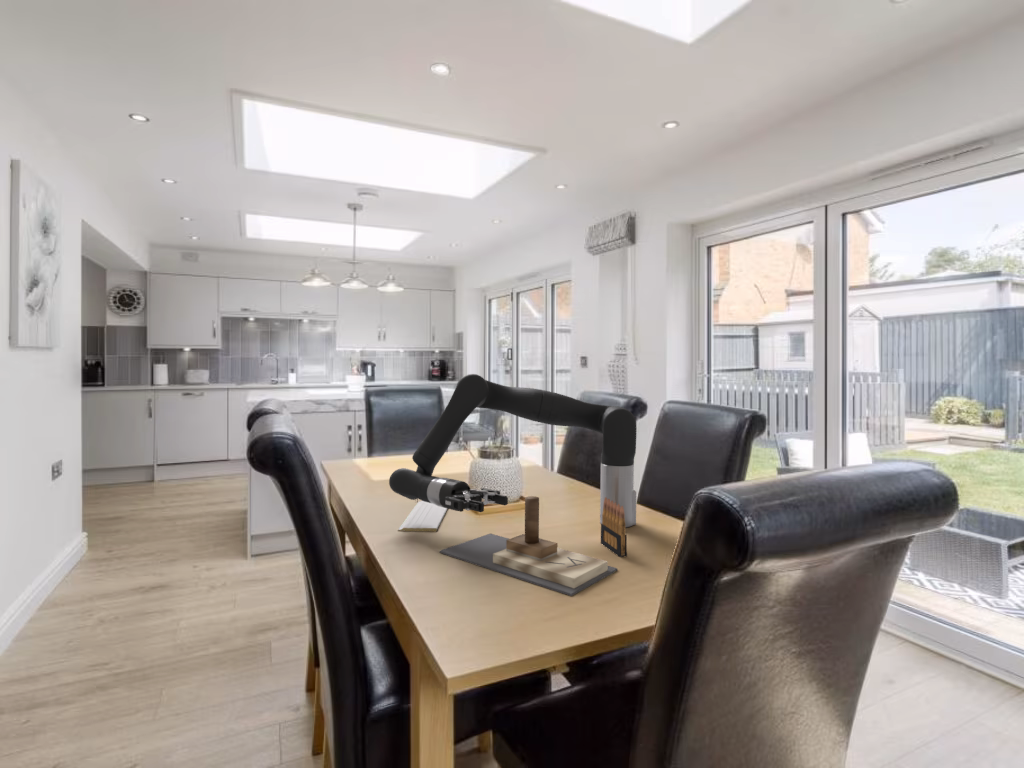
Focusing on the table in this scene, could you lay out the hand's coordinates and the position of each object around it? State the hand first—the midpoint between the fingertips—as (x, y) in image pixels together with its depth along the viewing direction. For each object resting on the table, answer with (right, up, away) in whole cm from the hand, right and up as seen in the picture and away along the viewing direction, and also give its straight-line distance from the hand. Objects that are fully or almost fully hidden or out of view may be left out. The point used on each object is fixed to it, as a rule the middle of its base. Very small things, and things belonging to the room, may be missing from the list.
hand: (495, 504), depth 134 cm
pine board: (+12, -12, -10) cm, 20 cm away
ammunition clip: (+29, -12, +3) cm, 31 cm away
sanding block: (+8, -10, -7) cm, 14 cm away
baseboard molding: (-22, -11, +33) cm, 41 cm away
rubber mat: (+7, -12, -5) cm, 15 cm away
